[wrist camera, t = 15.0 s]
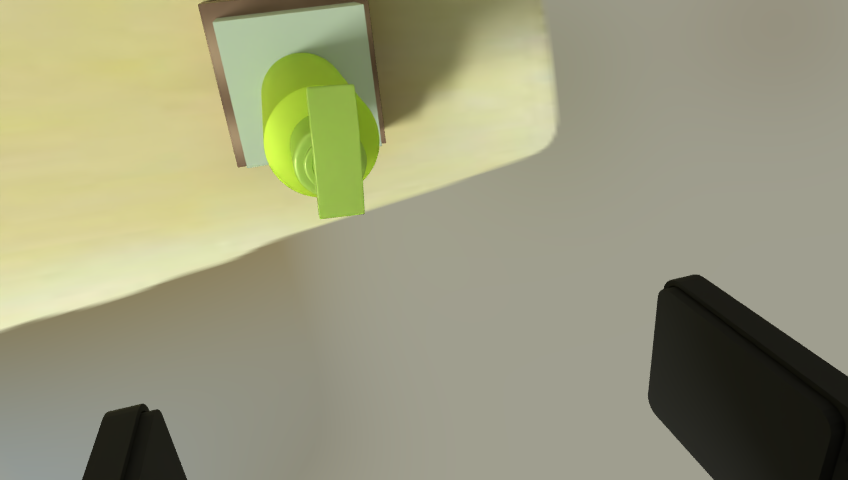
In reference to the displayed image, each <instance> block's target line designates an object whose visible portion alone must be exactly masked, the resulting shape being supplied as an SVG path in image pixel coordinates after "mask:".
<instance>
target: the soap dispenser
mask: <svg viewBox="0 0 848 480" xmlns="http://www.w3.org/2000/svg"><path fill="white" fill-rule="evenodd" d="M261 99H262V121H263V143H264V151H265V155H266V159H267V161H268V164H269V166H270V168H271V169H272V171H273V172H274V174H275V175H276V176H277V177H278V179H279V180H280V181H281V182H283V183H284V184H285V185H286V186H288V187H289V188H291V189H292V190H294V191H296V192H298V193H301V194H304V195H307V196H312V197H317V202H318V212H319V217H320V219H326V218H334V217H343V216H351V215H360V214H364V213H365V212H364V193H363V180H364V179H365V178H366V177H367V175H368V174H369V173H370V171H371V170H372V168H373V166H374V164H375V162H376V159H377V156H378V152H379V143H380V139H379V130H378V126H377V123H376V120H375V118H374V116H373V114H372V112H371V111H370V109H369V108H368V107H367V105H366V104H365V103H364V102H363V101H362V99H361V98H360V97H359V96H358V95H357V93H356V92H355V86H354V85H353V84H348V83H347V81H346V80H345V79H344V78H343V77H342V75H341V74H340V73H339V72H338V71H337V69H336V68H335V67H334V66H333V65H332V64H331V63H330V62H328V61H327V60H325V59H324V58H322V57H320V56H317V55H314V54H310V53H294V54H290V55H287V56H285V57H283V58H281V59H279V60H278V61H276V62H275V63H274V64H273V65H272V66H271V67H270V69H269V70H268V72H267V73H266V75H265V77H264V80H263V83H262V89H261Z"/></svg>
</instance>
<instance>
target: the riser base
mask: <svg viewBox="0 0 848 480" xmlns="http://www.w3.org/2000/svg"><path fill="white" fill-rule="evenodd" d="M349 2H357V3H360V4H364V12H365V19H366V27H367V35H368V42H369V50H370V58H371V66H372V73H373V81H374V89H375V96H376V104H377V112H378V120H379V127H380V135H381V143H386V139H385V131H384V123H383V115H382V107H381V99H380V91H379V83H378V76H377V68H376V60H375V52H374V44H373V36H372V28H371V20H370V12H369V4H368V0H218V1H209V2H202V3H200V4H198V7H199V11H200V15H201V19H202V23H203V27H204V32H205V36H206V40H207V44H208V48H209V52H210V56H211V60H212V64H213V68H214V72H215V76H216V80H217V84H218V89H219V93H220V97H221V101H222V105H223V109H224V113H225V117H226V121H227V125H228V129H229V133H230V137H231V141H232V145H233V150H234V154H235V158H236V162H237V166H238V167H243V166H247V165H246V161H245V156H244V152H243V148H242V144H241V140H240V135H239V131H238V127H237V123H236V119H235V114H234V110H233V106H232V102H231V98H230V94H229V89H228V85H227V81H226V77H225V73H224V68H223V64H222V60H221V56H220V52H219V47H218V43H217V39H216V35H215V31H214V26H213V21H214V20H215V19H216V18H222V17H230V16H239V15H247V14H256V13H264V12H273V11H281V10H290V9H298V8H307V7H315V6H324V5H332V4H341V3H349Z"/></svg>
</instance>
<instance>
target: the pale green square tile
mask: <svg viewBox="0 0 848 480" xmlns="http://www.w3.org/2000/svg"><path fill="white" fill-rule="evenodd" d="M213 26H214V31H215V35H216V39H217V43H218V47H219V52H220V56H221V60H222V64H223V68H224V73H225V77H226V81H227V85H228V89H229V94H230V98H231V102H232V106H233V110H234V114H235V119H236V123H237V127H238V131H239V135H240V140H241V144H242V148H243V152H244V156H245V161H246V165H247V168H252V167H258V166H264V165H269V164H268V161H267V159H266V155H265V151H264V143H263V121H262V99H261V89H262V83H263V80H264V77H265V75H266V73H267V72H268V70H269V69H270V67H271V66H272V65H273V64H274V63H275V62H276V61H278V60H279V59H281V58H283V57H285V56H287V55H290V54H294V53H310V54H314V55H317V56H320V57H322V58H324V59H325V60H327V61H328V62H330V63H331V64H332V65H333V66H334V67H335V68H336V69H337V71H338V72H339V73H340V74H341V75H342V77H343V78H344V79H345V80H346V81H347V83H348V84H353V85H354V86H355V92H356V93H357V95H358V96H359V97H360V98H361V99H362V101H363V102H364V103H365V104H366V105H367V107H368V108H369V109H370V111H371V112H372V114H373V116H374V118H375V120H376V123H377V126H378V130H379V139H380V143H379V146H382V143H381V135H380V127H379V120H378V112H377V104H376V96H375V89H374V81H373V73H372V66H371V58H370V50H369V42H368V35H367V27H366V19H365V12H364V4H360V3H357V2H349V3H341V4H332V5H324V6H315V7H307V8H298V9H290V10H281V11H273V12H264V13H256V14H247V15H239V16H230V17H222V18H216V19H215V20H214V21H213Z"/></svg>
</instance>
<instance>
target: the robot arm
mask: <svg viewBox="0 0 848 480" xmlns="http://www.w3.org/2000/svg"><path fill="white" fill-rule="evenodd" d="M648 399H649V404H650V406H651V408H652V410H653V412H654V413H655V415H656V416H657V417H658V418H659V419H660V420H661V421H662V422H663V424H664V425H665V426H666V427H667V428H668V429H669V430H670V431H671V432H672V434H673V435H674V436H675V437H676V438H677V439H678V440H679V441H680V442H681V444H682V445H683V446H684V447H685V448H686V449H687V450H688V451H689V452H690V454H691V455H692V456H693V457H694V458H695V459H696V460H697V461H698V463H700V465H701V466H702V467H703V468H704V469H705V470H706V471H707V473H708V474H709V475H710V476H711V477H712V478H713V479H714V480H848V376H846V375H845V374H843V373H842V372H840V371H839V370H838V369H836V368H835V367H833V366H832V365H830V364H829V363H827V362H826V361H824V360H823V359H822V358H820V357H819V356H817V355H816V354H814V353H813V352H811V351H810V350H808V349H807V348H805V347H804V346H802V345H801V344H800V343H798V342H797V341H795V340H794V339H792V338H791V337H790V336H788V335H786V334H785V333H784V332H782V331H781V330H779V329H778V328H776V327H775V326H774V325H772V324H771V323H769V322H768V321H766V320H765V319H763V318H762V317H760V316H759V315H758V314H756V313H755V312H753V311H752V310H750V309H749V308H747V307H746V306H744V305H743V304H742V303H740V302H739V301H737V300H736V299H734V298H733V297H731V296H730V295H728V294H727V293H726V292H724V291H722V290H721V289H720V288H718V287H717V286H715V285H714V284H712V283H711V282H709V281H708V280H707V279H705V278H704V277H702V276H700V275H690V276H686V277H682V278H677V279H673V280H670V281H668V282H667V283H666V284H665V286H664V289H663V290H661V291H660V292H659V295H658V301H657V312H656V321H655V331H654V341H653V351H652V361H651V371H650V381H649V391H648ZM82 480H187V478H186V475H185V473H184V470H183V468H182V465H181V462H180V460H179V457H178V455H177V452H176V449H175V447H174V444H173V442H172V439H171V436H170V434H169V431H168V428H167V426H166V423H165V421H164V418H163V415H162V413H161V412H160V410H158V409H157V410H152V411H149V409H148V407H147V406H146V405H145V404H139V405H135V406H131V407H126V408H122V409H118V410H114V411H109V412H107V413H106V414H105V415H104V417H103V420H102V422H101V425H100V428H99V432H98V434H97V437H96V440H95V443H94V446H93V449H92V452H91V455H90V458H89V461H88V464H87V467H86V470H85V473H84V476H83V479H82Z"/></svg>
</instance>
